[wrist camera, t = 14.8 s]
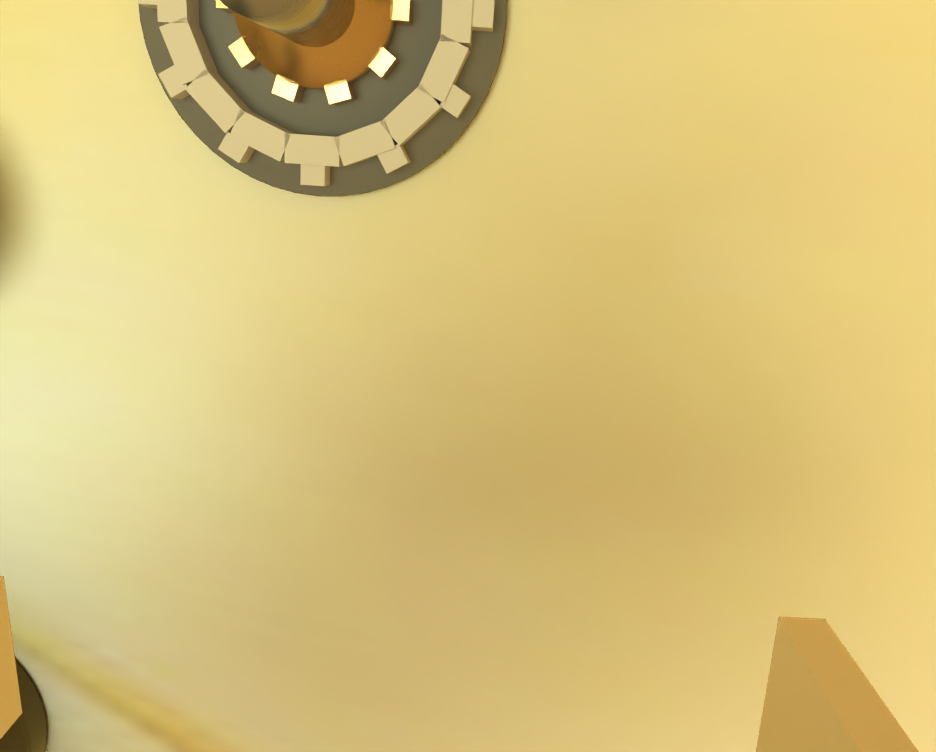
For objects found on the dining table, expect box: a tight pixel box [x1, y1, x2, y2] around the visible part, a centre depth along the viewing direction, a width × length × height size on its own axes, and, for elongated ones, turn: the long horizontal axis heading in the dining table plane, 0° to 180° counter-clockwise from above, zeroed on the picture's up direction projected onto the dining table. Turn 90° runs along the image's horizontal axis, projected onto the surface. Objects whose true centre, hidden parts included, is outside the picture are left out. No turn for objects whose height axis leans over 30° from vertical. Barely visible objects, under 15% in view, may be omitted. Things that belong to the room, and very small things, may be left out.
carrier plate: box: [138, 0, 506, 196], centre depth 38 cm, size 18×18×2 cm
